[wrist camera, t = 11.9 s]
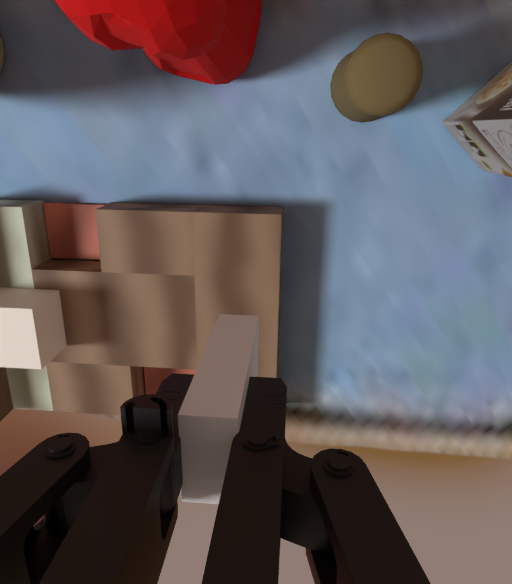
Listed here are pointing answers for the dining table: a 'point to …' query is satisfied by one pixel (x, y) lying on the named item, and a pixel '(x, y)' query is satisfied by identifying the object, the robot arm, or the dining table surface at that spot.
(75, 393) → the wooden board
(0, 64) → the plant pot
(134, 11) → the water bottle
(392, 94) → the cork
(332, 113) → the dining table surface
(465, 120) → the coffee box
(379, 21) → the dining table surface
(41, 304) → the block
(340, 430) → the dining table surface
